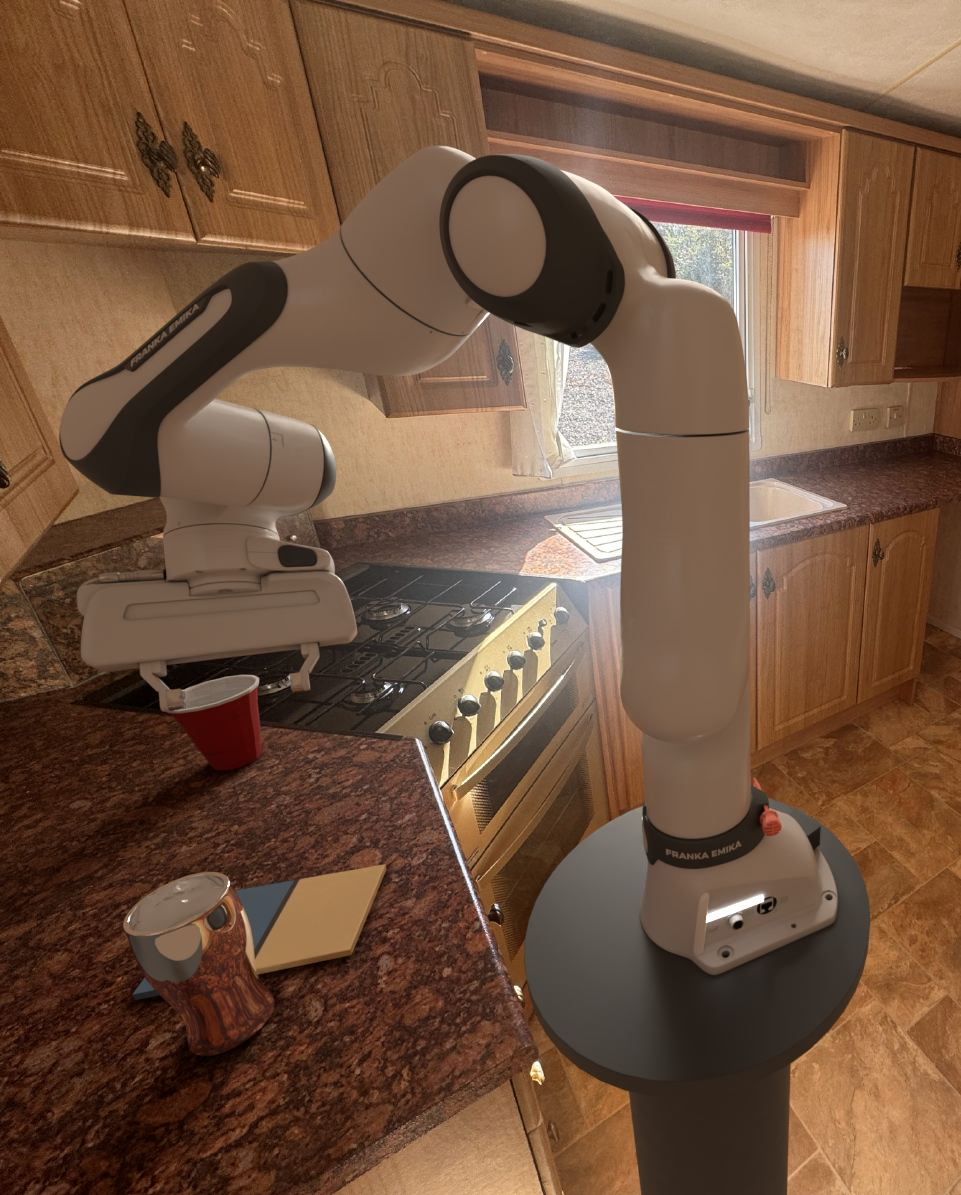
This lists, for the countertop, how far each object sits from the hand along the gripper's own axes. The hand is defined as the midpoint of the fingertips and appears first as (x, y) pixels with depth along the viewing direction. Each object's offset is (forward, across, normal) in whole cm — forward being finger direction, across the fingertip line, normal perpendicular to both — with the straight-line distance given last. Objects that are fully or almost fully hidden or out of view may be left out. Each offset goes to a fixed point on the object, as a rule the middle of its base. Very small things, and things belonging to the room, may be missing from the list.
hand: (240, 699), depth 61 cm
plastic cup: (+2, -6, +46) cm, 47 cm away
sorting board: (+23, 0, +12) cm, 26 cm away
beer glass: (+30, -3, +4) cm, 30 cm away
